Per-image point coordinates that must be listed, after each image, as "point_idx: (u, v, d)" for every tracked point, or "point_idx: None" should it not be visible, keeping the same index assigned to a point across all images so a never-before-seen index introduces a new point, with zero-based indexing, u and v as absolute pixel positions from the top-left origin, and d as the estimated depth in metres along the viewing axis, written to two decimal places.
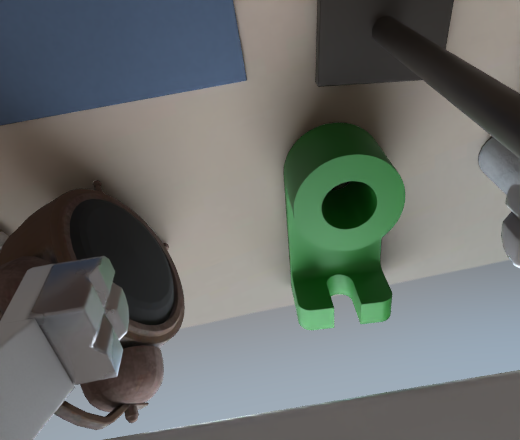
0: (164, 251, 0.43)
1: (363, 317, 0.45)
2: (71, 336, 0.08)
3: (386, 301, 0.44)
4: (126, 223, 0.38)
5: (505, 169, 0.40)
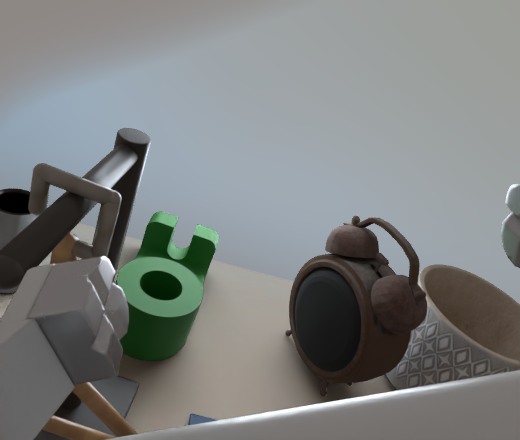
0: (293, 323, 0.56)
1: (175, 220, 0.60)
2: (71, 336, 0.08)
3: (155, 221, 0.59)
4: (316, 346, 0.52)
5: None
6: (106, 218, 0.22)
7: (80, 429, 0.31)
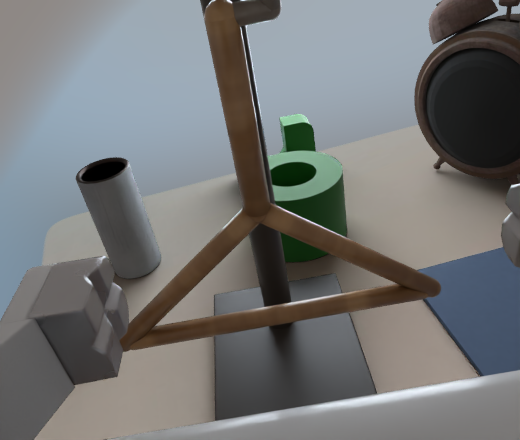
0: (440, 147, 0.48)
1: None
2: (71, 336, 0.08)
3: None
4: (485, 145, 0.43)
5: (146, 227, 0.43)
6: None
7: (336, 297, 0.24)
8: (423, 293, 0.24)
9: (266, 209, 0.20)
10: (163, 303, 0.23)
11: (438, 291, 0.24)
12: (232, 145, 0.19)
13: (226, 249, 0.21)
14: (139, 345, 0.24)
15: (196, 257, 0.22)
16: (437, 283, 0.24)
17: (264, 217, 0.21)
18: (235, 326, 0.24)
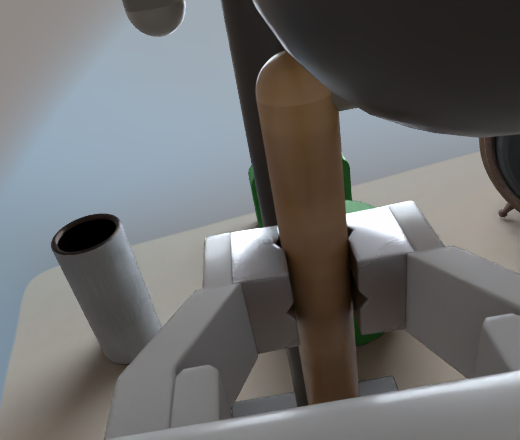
0: (512, 193, 0.38)
1: None
2: (268, 302, 0.08)
3: None
4: None
5: (143, 301, 0.33)
6: None
7: None
8: None
9: None
10: None
11: None
12: (300, 330, 0.09)
13: None
14: None
15: None
16: None
17: None
18: None
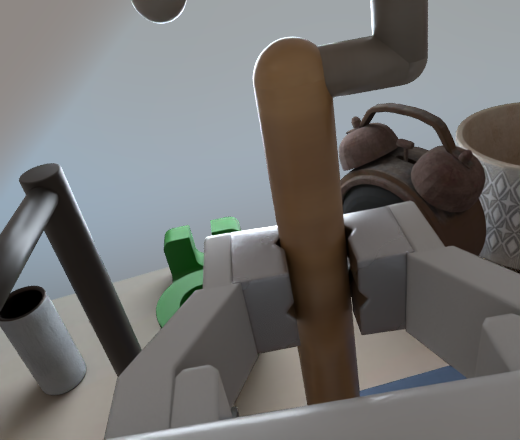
0: None
1: (187, 229, 0.55)
2: (268, 302, 0.08)
3: (168, 241, 0.54)
4: None
5: (66, 349, 0.45)
6: None
7: None
8: None
9: None
10: None
11: None
12: (299, 326, 0.09)
13: None
14: None
15: None
16: None
17: None
18: None
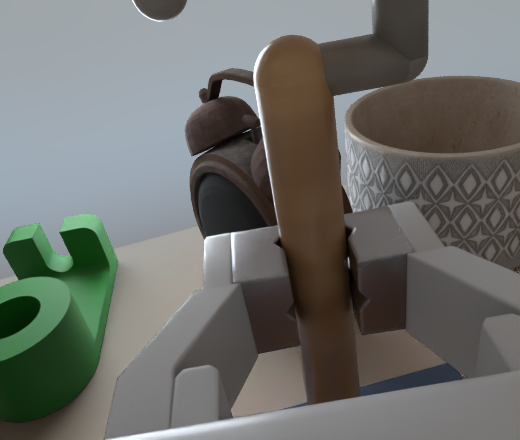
0: None
1: (34, 228, 0.46)
2: (268, 302, 0.08)
3: (7, 242, 0.45)
4: None
5: None
6: None
7: None
8: None
9: None
10: None
11: None
12: (299, 324, 0.09)
13: None
14: None
15: None
16: None
17: None
18: None
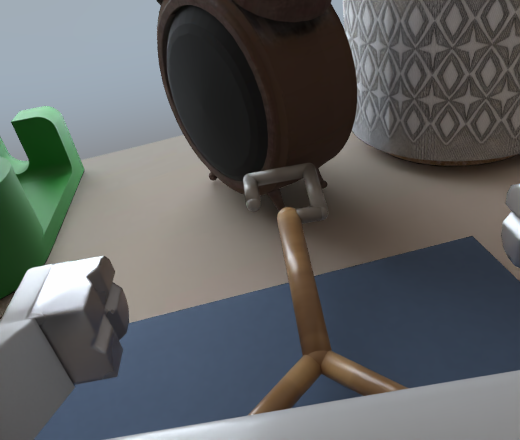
0: (198, 151, 0.35)
1: None
2: (71, 336, 0.08)
3: None
4: (224, 149, 0.30)
5: None
6: (311, 175, 0.26)
7: None
8: None
9: (326, 346, 0.19)
10: None
11: None
12: (292, 289, 0.21)
13: (280, 396, 0.18)
14: None
15: None
16: None
17: (324, 354, 0.19)
18: None
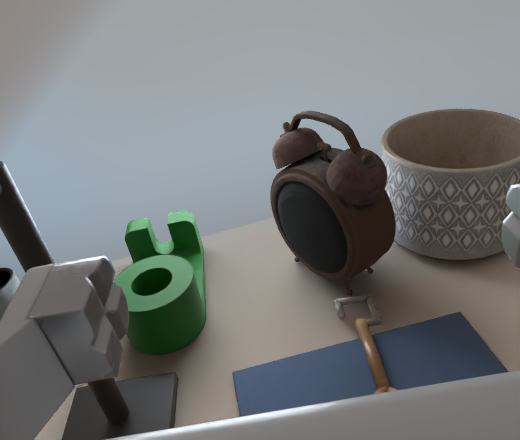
0: (292, 249, 0.57)
1: (146, 221, 0.61)
2: (71, 336, 0.08)
3: (128, 231, 0.60)
4: (316, 256, 0.52)
5: None
6: (371, 300, 0.50)
7: None
8: None
9: (388, 384, 0.42)
10: None
11: None
12: (368, 359, 0.44)
13: None
14: None
15: None
16: None
17: (388, 388, 0.41)
18: None
